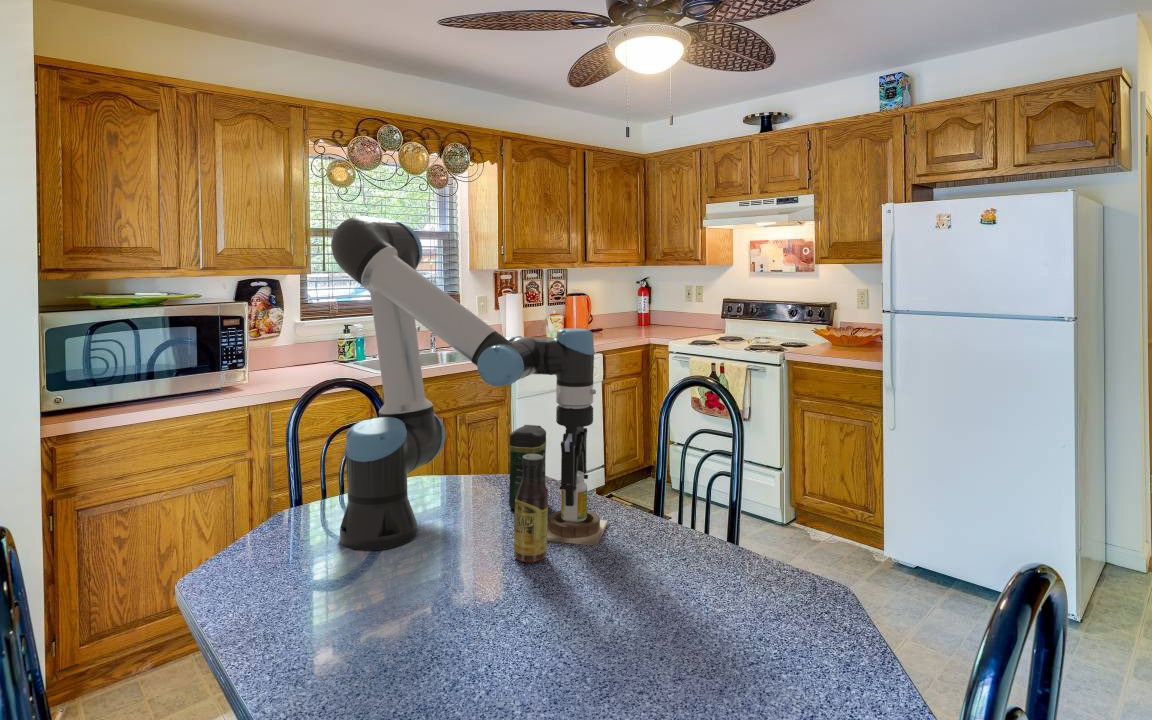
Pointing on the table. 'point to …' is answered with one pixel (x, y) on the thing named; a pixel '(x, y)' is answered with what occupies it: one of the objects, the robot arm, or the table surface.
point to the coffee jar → (520, 444)
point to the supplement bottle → (581, 499)
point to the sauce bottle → (531, 512)
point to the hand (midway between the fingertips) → (573, 514)
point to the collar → (576, 529)
